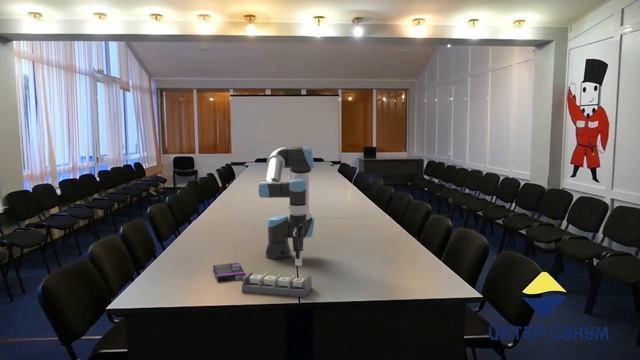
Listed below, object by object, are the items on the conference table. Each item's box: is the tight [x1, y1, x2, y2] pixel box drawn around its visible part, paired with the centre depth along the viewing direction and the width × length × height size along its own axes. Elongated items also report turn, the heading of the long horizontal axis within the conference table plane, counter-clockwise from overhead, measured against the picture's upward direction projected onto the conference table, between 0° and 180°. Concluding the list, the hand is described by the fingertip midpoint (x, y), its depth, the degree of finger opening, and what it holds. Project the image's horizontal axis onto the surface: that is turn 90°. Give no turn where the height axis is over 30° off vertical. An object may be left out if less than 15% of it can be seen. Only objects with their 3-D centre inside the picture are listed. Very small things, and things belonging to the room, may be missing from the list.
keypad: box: [241, 270, 313, 298], centre depth 206 cm, size 12×30×6 cm, turn 76°
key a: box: [278, 276, 291, 286], centre depth 205 cm, size 4×4×3 cm
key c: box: [293, 277, 306, 287], centre depth 203 cm, size 4×4×3 cm
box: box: [212, 262, 247, 283], centre depth 228 cm, size 14×4×20 cm
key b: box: [249, 274, 263, 284], centre depth 208 cm, size 4×4×3 cm
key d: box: [264, 275, 277, 285], centre depth 207 cm, size 4×4×3 cm
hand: (298, 265), depth 202 cm, fingers closed
